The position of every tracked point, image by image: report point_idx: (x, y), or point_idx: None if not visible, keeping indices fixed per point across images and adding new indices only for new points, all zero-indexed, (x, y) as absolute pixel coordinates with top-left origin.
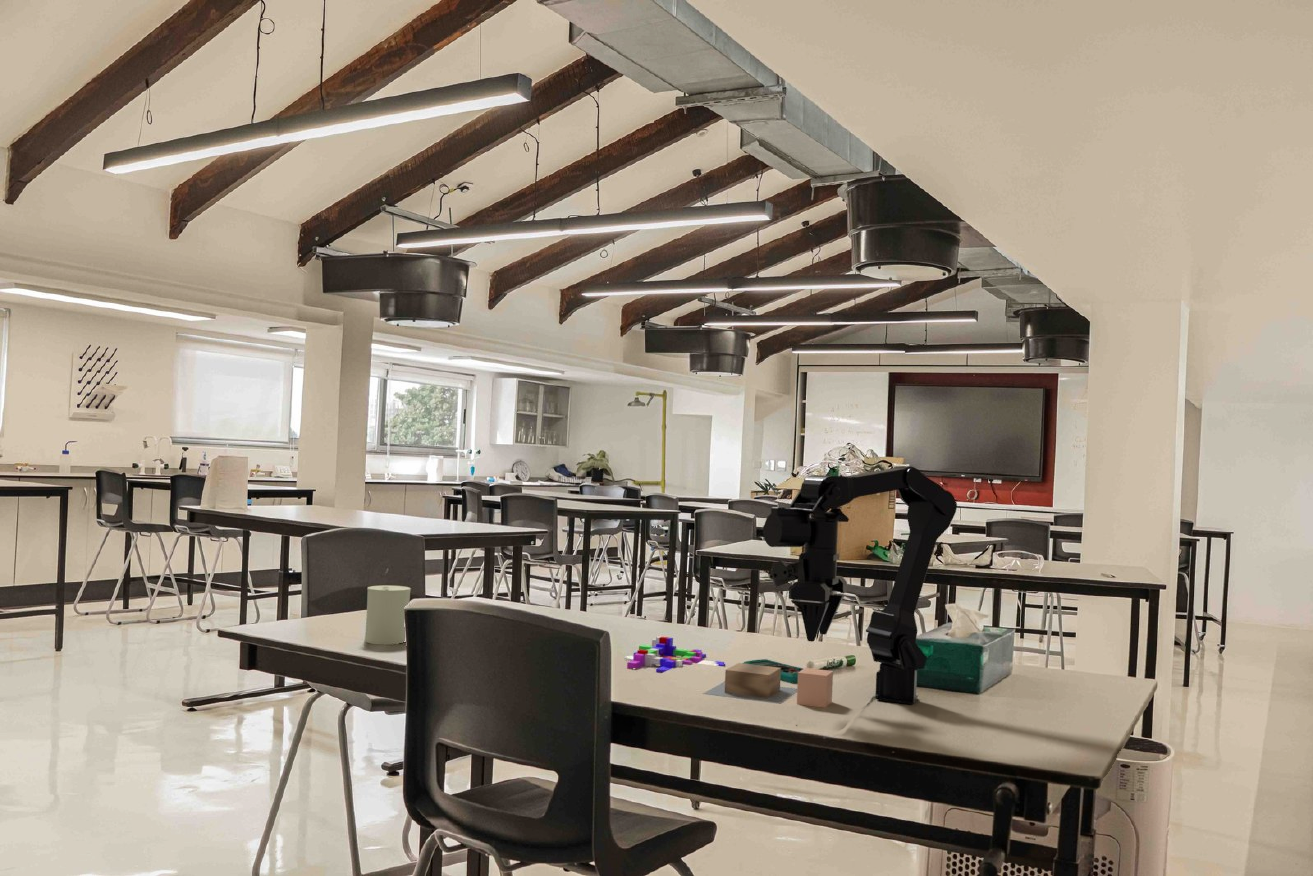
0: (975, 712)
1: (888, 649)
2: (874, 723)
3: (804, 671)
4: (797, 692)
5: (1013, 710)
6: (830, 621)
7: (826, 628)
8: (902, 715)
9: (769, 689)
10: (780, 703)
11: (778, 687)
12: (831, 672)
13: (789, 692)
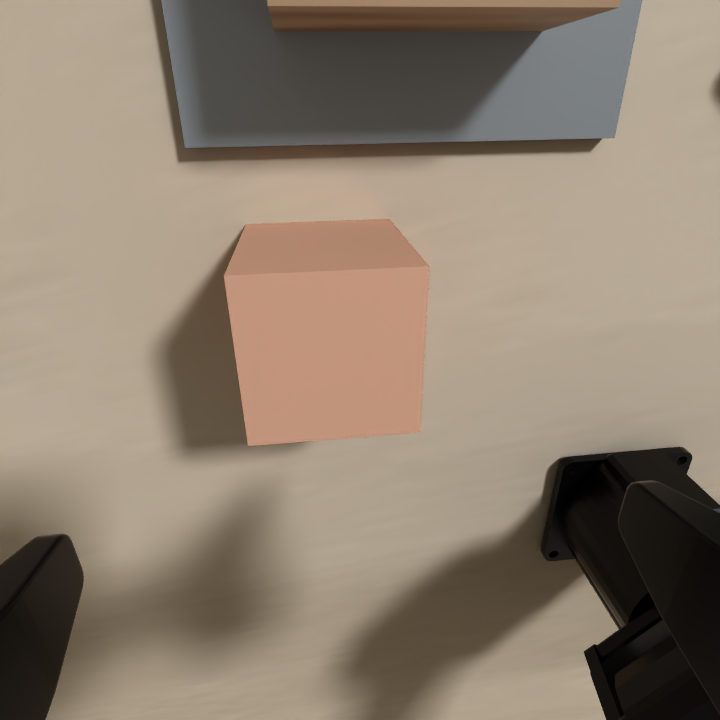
0: (526, 669)
1: (630, 705)
2: (190, 533)
3: (296, 301)
4: (238, 243)
5: (592, 711)
6: (706, 691)
7: (652, 582)
8: (372, 562)
9: (299, 23)
10: (188, 147)
11: (515, 27)
12: (376, 435)
13: (498, 108)
